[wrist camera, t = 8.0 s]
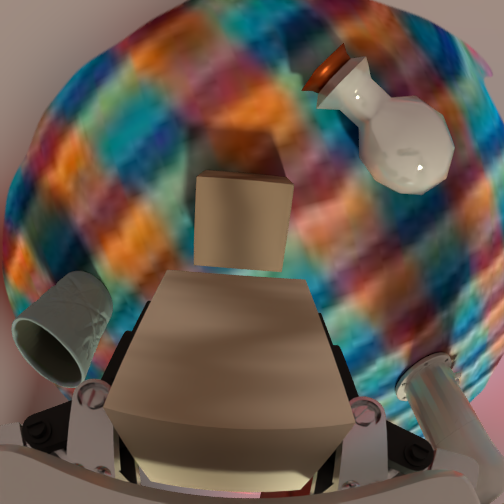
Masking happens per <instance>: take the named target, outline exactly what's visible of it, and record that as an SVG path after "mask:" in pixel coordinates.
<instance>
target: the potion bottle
mask: <svg viewBox="0 0 504 504" xmlns="http://www.w3.org/2000/svg"><path fill="white" fill-rule="evenodd" d="M302 91H314V92H316V93H319V94H318V99H317V107H316V109H337V110H340V111H341V112H343V113H344V114H345V115H346V116H347V117H348V118H349V119H350V120H351V121H352V122H353V123H354V124H356V125H357V126H358V127H359V158H360V159H361V161H362V162H363V164H364V165H365V166H366V168H367V169H368V171H369V172H370V173H371V175H372V176H373V178H374V179H375V181H377V182H379V183H381V184H382V185H384V186H386V187H387V188H389V189H391V190H392V191H395V192H398V193H402V194H418V195H423V194H424V193H426V192H427V191H429V190H430V189H432V188H433V187H435V186H436V185H438V184H439V183H441V182H442V181H444V180H445V179H446V178H447V175H448V171H449V168H450V164H451V161H452V157H453V153H454V149H455V146H454V143H453V140H452V138H451V135H450V132H449V129H448V127H447V124H446V122H445V119H444V117H443V115H442V114H441V113H440V112H438V111H437V110H436V109H434V108H433V107H431V106H430V105H429V104H427V103H426V102H424V101H423V100H422V99H420V98H419V97H417V96H401V97H390V96H389V95H388V94H387V93H386V92H385V91H384V90H383V89H382V88H381V87H380V86H379V85H378V84H377V83H376V82H374V81H373V80H372V79H371V76H370V71H369V66H368V62H367V58H366V57H358V58H350V57H349V55H348V54H347V53H346V49H345V45H344V43H343V44H342V45H341V46H340V47H339V48H338V49H337V50H336V51H334V52H333V53H332V54H331V55H330V56H329V57H328V58H327V59H326V60H325V61H324V62H323V63H322V64H321V65H320V66H319V67H318V68H317V69H316V70H315V71H314V73H313V74H312V76H311V77H310V79H309V80H308V82H307V83H306V85H305V86H304V88H303V89H302Z"/></svg>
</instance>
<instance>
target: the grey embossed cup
mask: <svg viewBox="0 0 504 504" xmlns="http://www.w3.org/2000/svg"><path fill="white" fill-rule="evenodd" d="M112 311H113V303H112V299H111V296H110V294H109V292H108V290H107V289H106V287H105V286H104V285H103V283H102V282H101V281H100V280H98V279H97V278H96V277H95V276H93V275H91V274H90V273H86V272H83V271H73V272H70V273H68V274H67V275H66V276H64V277H63V278H62V279H61V280H59V281H58V282H57V284H56V285H55V286H53V287H51V288H50V289H49V290H48V291H47V292H46V293H44V294H43V295H42V296H41V297H40V299H38V300H37V301H36V302H34V303H33V304H32V305H30V306H29V307H28V308H27V309H26V310H25V311H24V312H22V313H21V314H20V315H19V316H18V317H17V318H16V319H15V320H14V321H13V323H12V335H13V339H14V341H15V344H16V346H17V348H18V350H19V351H20V353H21V354H22V356H23V357H24V358H25V360H26V361H27V362H28V363H29V364H30V365H31V366H32V367H33V368H34V369H35V370H36V371H37V372H38V373H40V374H41V375H42V376H43V377H45V378H46V379H48V380H50V381H51V382H53V383H55V384H58V385H60V386H63V387H67V388H76V387H77V386H78V385H79V384H80V383H82V382H83V381H84V380H85V377H86V374H87V371H88V368H89V366H90V363H91V360H92V358H93V356H94V352H95V351H96V348H97V346H98V343H99V341H100V337H101V336H102V334H103V332H104V331H105V328H106V326H107V323H108V322H109V320H110V318H111V315H112Z"/></svg>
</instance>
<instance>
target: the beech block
mask: <svg viewBox="0 0 504 504" xmlns="http://www.w3.org/2000/svg"><path fill="white" fill-rule="evenodd" d="M103 408H104V410H105V412H106V414H107V415H108V417H109V419H110V421H111V423H112V424H113V426H114V428H115V429H116V431H117V433H118V434H119V436H120V438H121V439H122V441H123V442H124V444H125V446H126V447H127V449H128V450H129V452H130V453H131V455H132V456H133V458H134V459H135V460H136V462H137V463H138V465H139V466H140V467H141V469H142V470H143V472H144V473H145V474H146V476H147V477H148V478H149V479H150V481H153V482H158V483H163V484H168V485H174V486H181V487H188V488H195V489H204V490H215V491H231V492H275V491H291V490H300V489H301V488H302V487H303V486H304V485H305V484H306V483H307V482H308V481H309V480H310V479H311V478H312V477H313V476H314V474H315V473H316V472H317V471H318V470H319V469H320V468H321V466H322V465H323V464H324V463H325V462H326V461H327V459H328V458H329V457H330V456H331V455H332V453H333V452H334V451H335V450H336V448H337V447H338V446H339V444H340V443H341V442H342V441H343V439H344V438H345V437H346V435H347V434H348V433H349V431H350V430H351V429H352V427H353V426H354V424H355V423H356V422H355V419H354V416H353V413H352V410H351V406H350V403H349V400H348V397H347V394H346V391H345V388H344V385H343V382H342V379H341V376H340V373H339V370H338V368H337V365H336V362H335V359H334V356H333V353H332V350H331V348H330V345H329V342H328V339H327V336H326V334H325V331H324V328H323V325H322V323H321V320H320V317H319V315H318V312H317V309H316V307H315V304H314V301H313V299H312V296H311V293H310V291H309V288H308V286H307V283H306V280H301V279H284V278H268V277H253V276H239V275H226V274H212V273H200V272H188V271H176V270H167V272H166V273H165V275H164V277H163V279H162V281H161V283H160V285H159V287H158V289H157V291H156V293H155V295H154V296H153V298H152V300H151V302H150V304H149V306H148V308H147V310H146V312H145V314H144V316H143V318H142V321H141V323H140V325H139V327H138V329H137V331H136V333H135V335H134V337H133V339H132V341H131V344H130V346H129V348H128V350H127V352H126V354H125V357H124V359H123V361H122V363H121V366H120V368H119V370H118V372H117V375H116V377H115V379H114V382H113V384H112V386H111V389H110V391H109V394H108V396H107V398H106V401H105V403H104V406H103Z"/></svg>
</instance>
